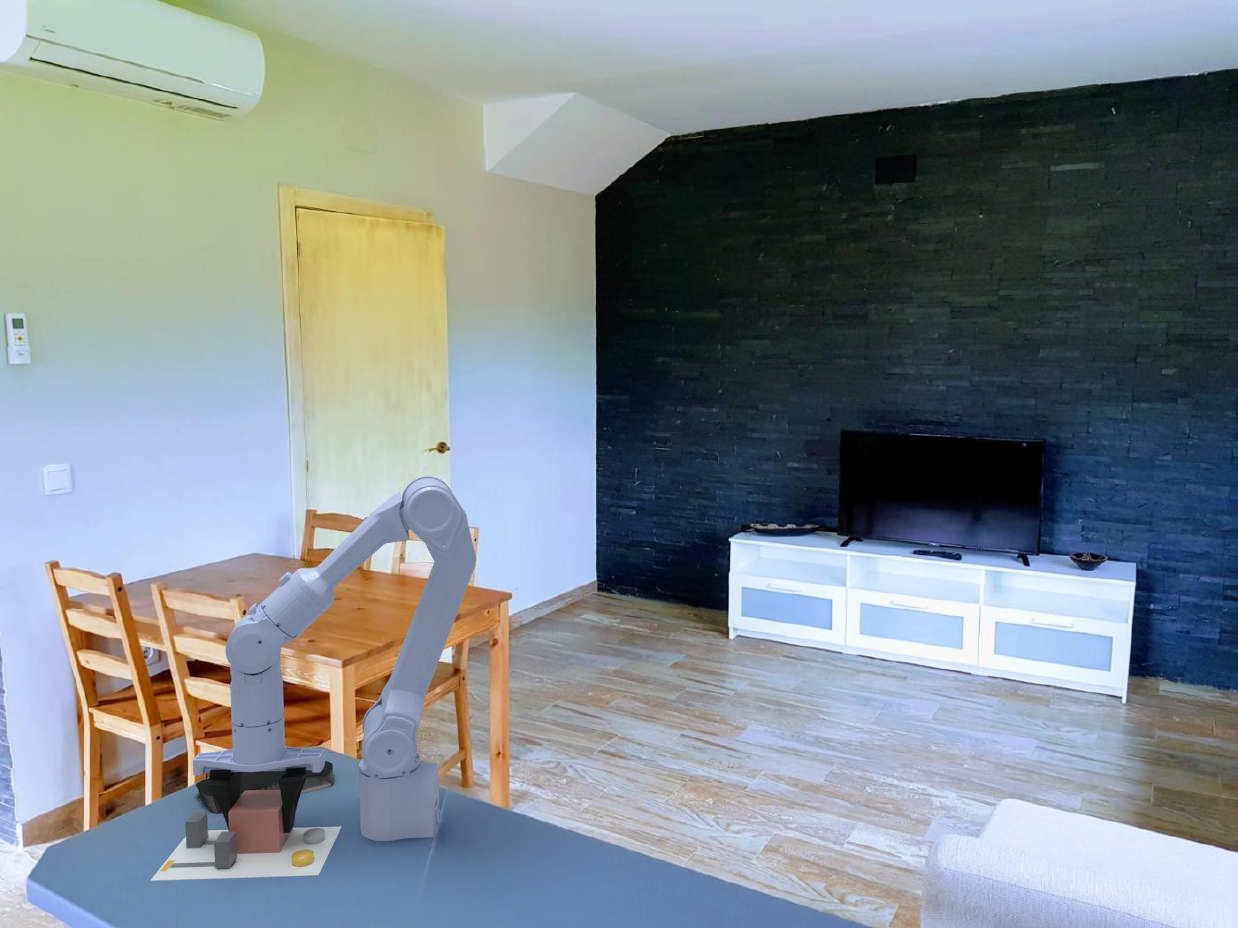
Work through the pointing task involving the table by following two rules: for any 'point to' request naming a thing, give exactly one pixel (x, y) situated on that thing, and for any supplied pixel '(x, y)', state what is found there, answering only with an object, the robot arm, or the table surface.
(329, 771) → the black brush
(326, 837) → the breaker panel
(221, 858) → the handle
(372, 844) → the table surface
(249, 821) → the reddish pink block
